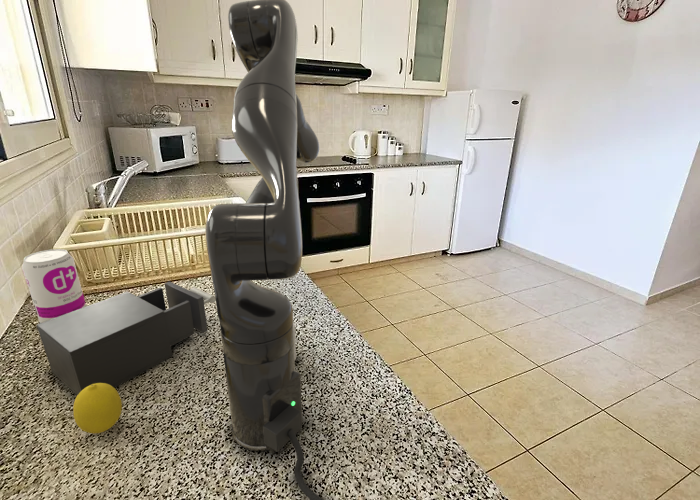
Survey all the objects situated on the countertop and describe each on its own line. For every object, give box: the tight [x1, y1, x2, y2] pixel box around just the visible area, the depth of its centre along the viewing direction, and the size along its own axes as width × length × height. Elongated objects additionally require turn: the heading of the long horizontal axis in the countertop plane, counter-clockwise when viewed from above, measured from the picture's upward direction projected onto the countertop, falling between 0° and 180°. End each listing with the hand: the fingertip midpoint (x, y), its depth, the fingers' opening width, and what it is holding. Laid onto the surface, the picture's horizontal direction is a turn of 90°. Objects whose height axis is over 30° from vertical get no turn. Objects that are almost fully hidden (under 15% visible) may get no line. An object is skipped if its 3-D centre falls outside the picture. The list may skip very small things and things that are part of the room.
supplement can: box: [21, 248, 87, 324], centre depth 77 cm, size 8×8×15 cm
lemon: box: [72, 383, 123, 434], centre depth 52 cm, size 6×6×8 cm
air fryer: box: [36, 291, 173, 396], centre depth 65 cm, size 15×13×10 cm
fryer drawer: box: [136, 280, 216, 347], centre depth 74 cm, size 18×11×8 cm, turn 146°
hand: (229, 263), depth 84 cm, fingers closed
